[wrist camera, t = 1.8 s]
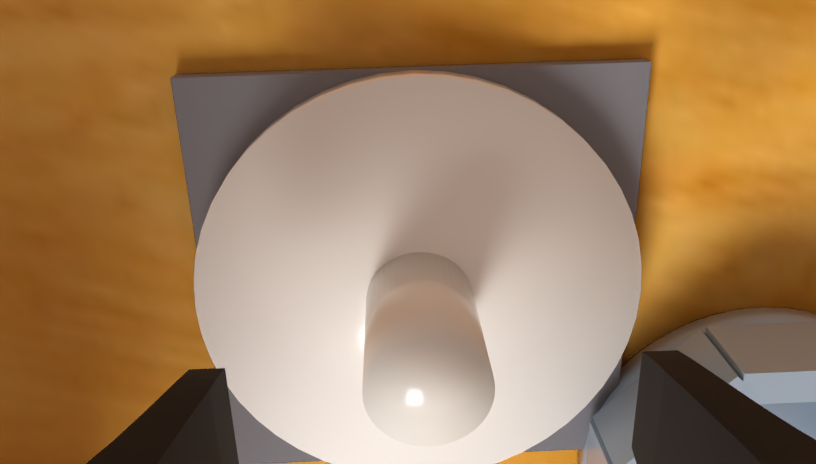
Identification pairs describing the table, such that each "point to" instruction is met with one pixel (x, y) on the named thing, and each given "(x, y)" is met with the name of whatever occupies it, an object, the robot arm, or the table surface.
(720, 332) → the bowl
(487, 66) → the mat
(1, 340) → the table surface
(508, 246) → the lid
